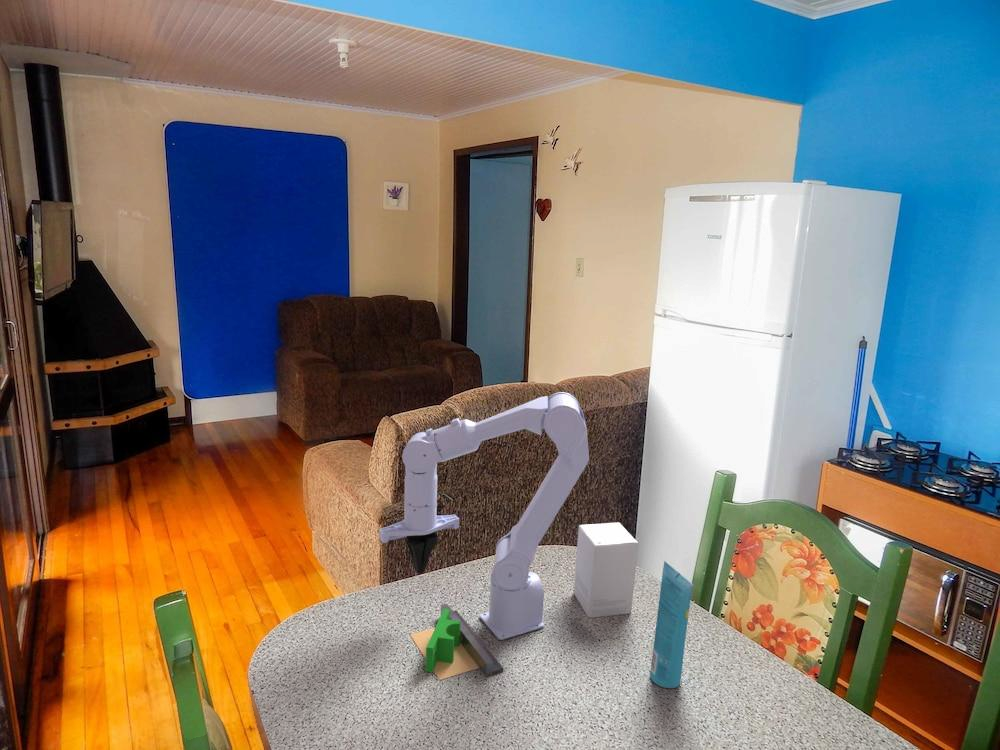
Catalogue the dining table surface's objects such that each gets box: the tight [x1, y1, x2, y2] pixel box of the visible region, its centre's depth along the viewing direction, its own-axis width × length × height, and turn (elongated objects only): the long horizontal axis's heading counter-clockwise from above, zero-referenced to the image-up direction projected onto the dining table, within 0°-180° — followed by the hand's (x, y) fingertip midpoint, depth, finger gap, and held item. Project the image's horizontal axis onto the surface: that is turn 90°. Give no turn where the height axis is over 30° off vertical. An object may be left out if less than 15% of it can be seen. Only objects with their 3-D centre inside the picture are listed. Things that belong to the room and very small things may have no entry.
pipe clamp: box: [425, 609, 461, 673], centre depth 109 cm, size 11×4×5 cm, turn 170°
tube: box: [649, 560, 694, 689], centre depth 104 cm, size 7×5×19 cm, turn 26°
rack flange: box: [409, 603, 504, 681], centre depth 111 cm, size 10×18×2 cm, turn 29°
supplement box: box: [573, 521, 639, 619], centre depth 125 cm, size 9×9×15 cm
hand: (419, 570), depth 117 cm, fingers closed
